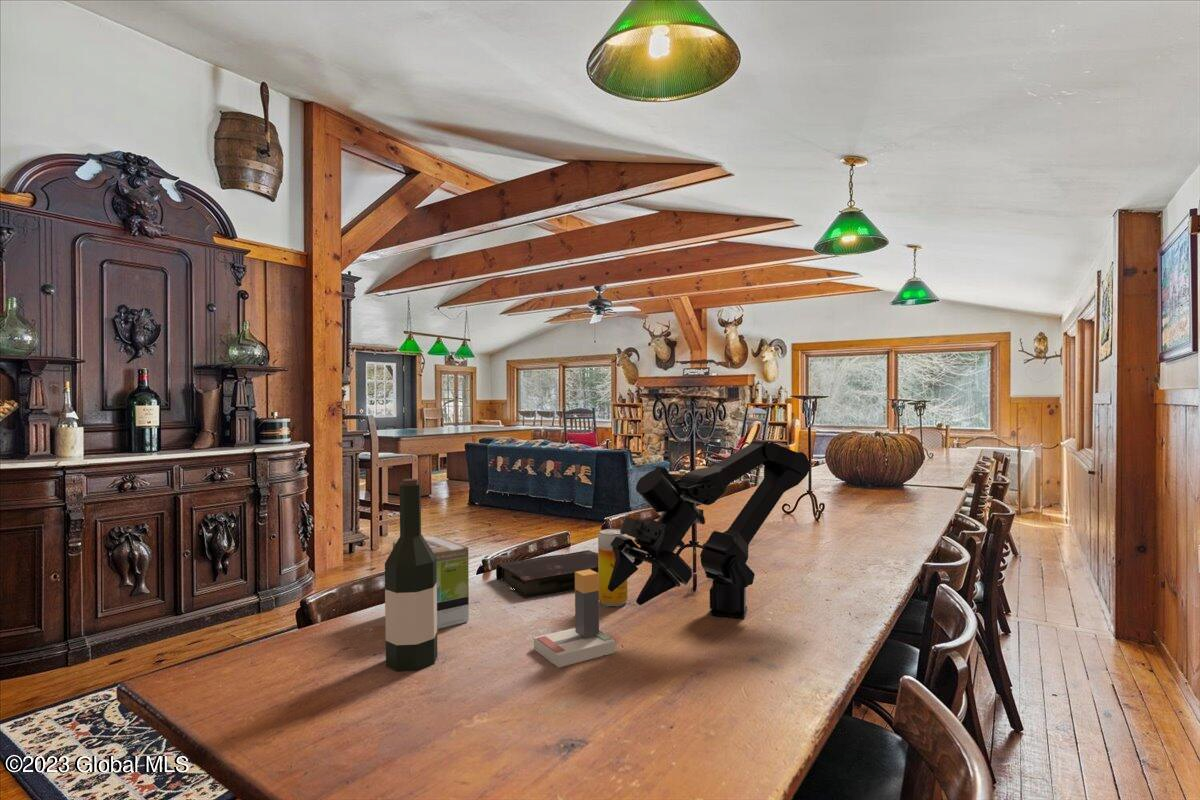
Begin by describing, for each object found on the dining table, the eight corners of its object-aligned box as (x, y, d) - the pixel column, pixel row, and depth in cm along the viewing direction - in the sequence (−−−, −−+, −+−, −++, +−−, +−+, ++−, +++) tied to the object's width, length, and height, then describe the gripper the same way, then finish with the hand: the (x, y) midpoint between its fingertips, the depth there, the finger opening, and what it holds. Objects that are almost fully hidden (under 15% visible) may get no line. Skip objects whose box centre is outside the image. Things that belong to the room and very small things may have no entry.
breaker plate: (588, 635, 116) (588, 623, 116) (615, 652, 108) (615, 639, 108) (533, 648, 110) (533, 636, 110) (558, 667, 103) (558, 653, 103)
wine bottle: (390, 675, 100) (388, 484, 100) (381, 656, 108) (379, 478, 107) (443, 665, 104) (441, 480, 104) (431, 647, 111) (429, 475, 111)
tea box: (471, 622, 124) (470, 545, 124) (421, 634, 118) (420, 554, 118) (437, 603, 136) (437, 533, 136) (391, 613, 129) (390, 540, 129)
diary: (495, 582, 153) (495, 561, 153) (587, 567, 165) (587, 548, 166) (525, 602, 137) (525, 578, 137) (625, 584, 149) (624, 562, 149)
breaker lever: (590, 628, 113) (589, 569, 113) (599, 634, 110) (598, 573, 110) (575, 632, 111) (574, 571, 111) (584, 637, 109) (583, 575, 109)
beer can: (625, 608, 131) (624, 535, 131) (596, 606, 132) (595, 534, 132) (629, 599, 137) (629, 529, 137) (601, 597, 138) (601, 528, 138)
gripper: (618, 494, 125) (569, 558, 120) (678, 507, 109) (625, 583, 104) (651, 529, 129) (605, 593, 124) (713, 547, 114) (664, 621, 108)
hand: (623, 596), depth 115 cm, fingers open, 9 cm apart
